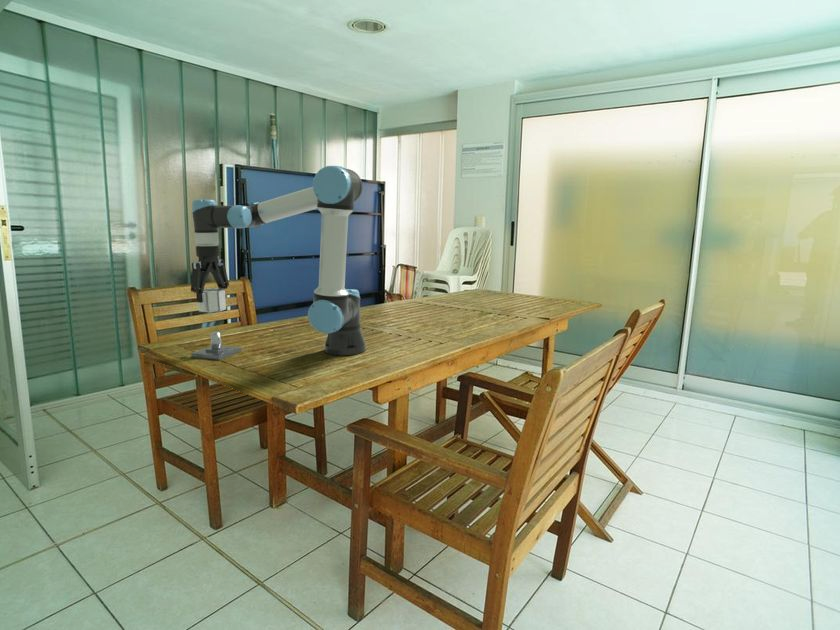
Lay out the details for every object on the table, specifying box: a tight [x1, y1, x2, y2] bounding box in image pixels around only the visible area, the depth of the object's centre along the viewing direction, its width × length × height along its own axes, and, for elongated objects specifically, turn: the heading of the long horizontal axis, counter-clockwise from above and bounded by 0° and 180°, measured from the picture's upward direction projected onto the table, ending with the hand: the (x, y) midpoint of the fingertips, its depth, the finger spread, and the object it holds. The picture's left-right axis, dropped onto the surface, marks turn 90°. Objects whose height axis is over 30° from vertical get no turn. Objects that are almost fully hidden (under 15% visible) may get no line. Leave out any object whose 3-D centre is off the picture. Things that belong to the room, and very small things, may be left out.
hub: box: [199, 287, 227, 313], centre depth 175 cm, size 9×9×7 cm
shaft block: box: [190, 331, 243, 361], centre depth 178 cm, size 12×12×8 cm
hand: (212, 308), depth 176 cm, fingers closed on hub, 9 cm apart
